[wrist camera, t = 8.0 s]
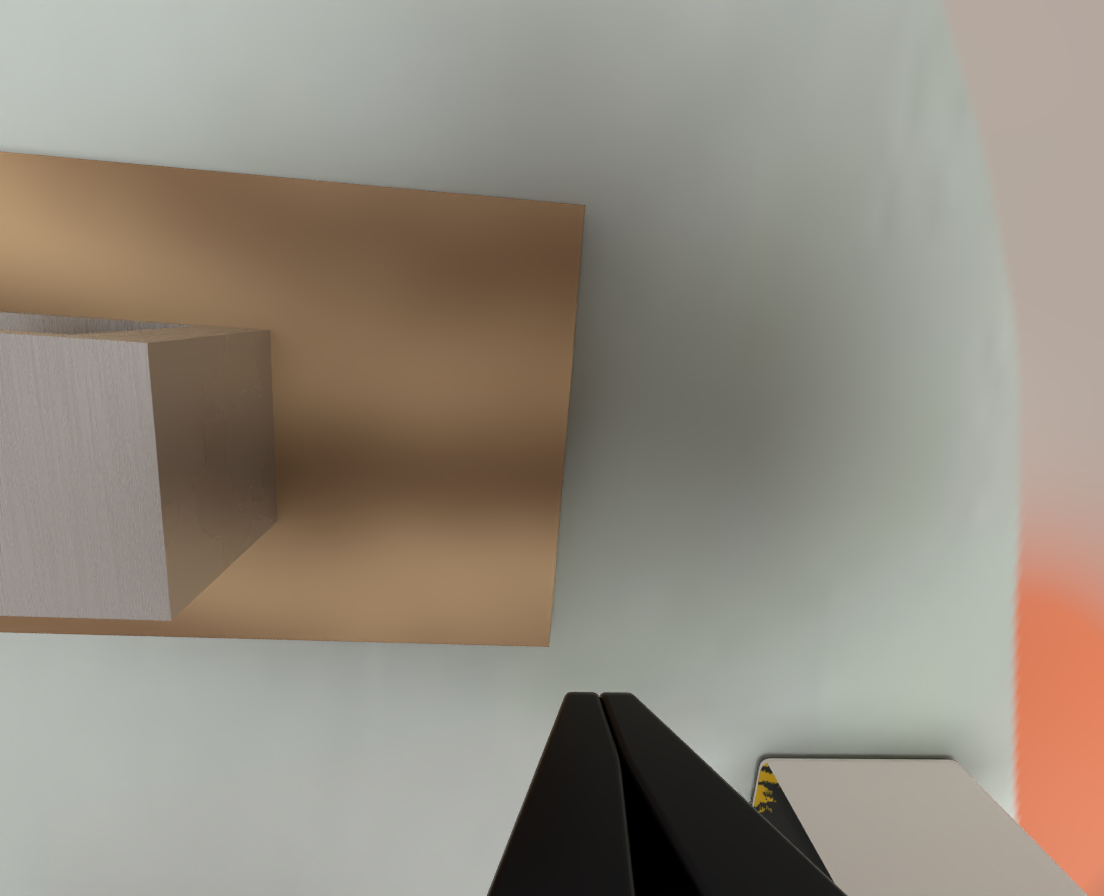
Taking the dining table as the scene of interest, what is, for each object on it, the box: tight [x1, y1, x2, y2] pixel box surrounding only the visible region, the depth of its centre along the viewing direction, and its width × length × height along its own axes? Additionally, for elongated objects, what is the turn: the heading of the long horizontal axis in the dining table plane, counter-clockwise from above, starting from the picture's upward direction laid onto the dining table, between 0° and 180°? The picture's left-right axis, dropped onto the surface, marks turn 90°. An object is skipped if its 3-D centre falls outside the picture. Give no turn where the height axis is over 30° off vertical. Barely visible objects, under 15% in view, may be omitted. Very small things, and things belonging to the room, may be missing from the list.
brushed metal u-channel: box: [0, 311, 277, 621], centre depth 12 cm, size 5×5×8 cm
